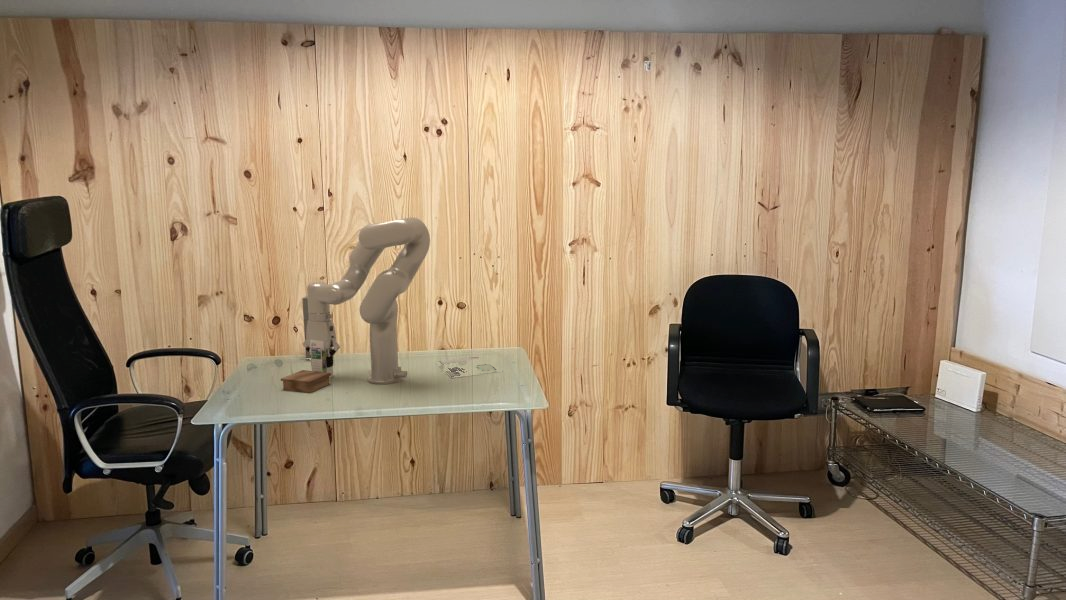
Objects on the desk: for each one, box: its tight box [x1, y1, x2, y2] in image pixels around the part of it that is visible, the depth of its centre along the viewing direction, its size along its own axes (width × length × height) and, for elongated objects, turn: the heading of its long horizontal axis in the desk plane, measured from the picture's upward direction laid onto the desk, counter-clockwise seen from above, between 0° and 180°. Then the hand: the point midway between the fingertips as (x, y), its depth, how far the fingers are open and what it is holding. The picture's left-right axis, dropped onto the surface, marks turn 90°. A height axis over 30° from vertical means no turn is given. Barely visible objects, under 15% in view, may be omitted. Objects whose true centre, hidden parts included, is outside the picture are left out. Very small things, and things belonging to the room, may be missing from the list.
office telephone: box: [438, 356, 480, 377], centre depth 292 cm, size 23×3×20 cm
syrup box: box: [310, 340, 334, 379], centre depth 279 cm, size 6×6×14 cm
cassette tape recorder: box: [302, 295, 311, 359], centre depth 311 cm, size 14×6×25 cm, turn 0°
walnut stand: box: [280, 369, 331, 393], centre depth 268 cm, size 12×12×4 cm
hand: (322, 365), depth 279 cm, fingers closed on syrup box, 5 cm apart
